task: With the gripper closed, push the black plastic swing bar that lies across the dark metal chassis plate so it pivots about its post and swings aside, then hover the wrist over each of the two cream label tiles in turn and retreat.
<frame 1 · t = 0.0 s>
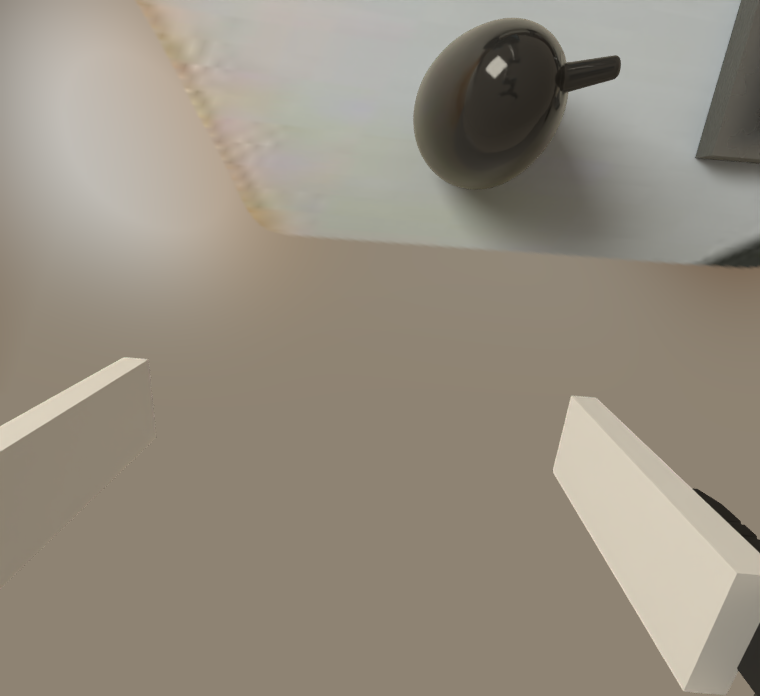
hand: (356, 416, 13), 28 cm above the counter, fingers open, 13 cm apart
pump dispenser: (472, 126, 36), on the counter
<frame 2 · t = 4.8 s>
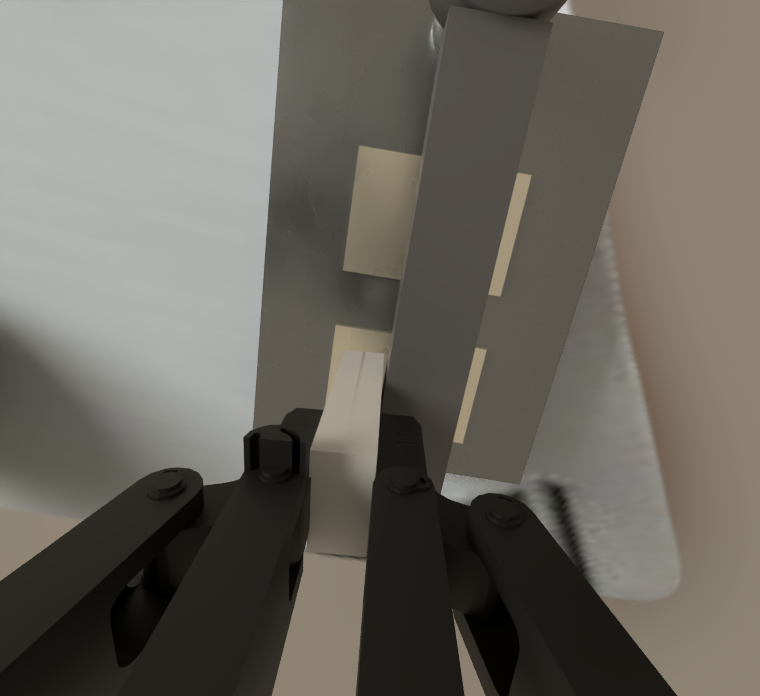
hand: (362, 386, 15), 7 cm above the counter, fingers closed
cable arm: (443, 247, 14), point 7 cm above the counter, hinge at 0.5°, touching gripper
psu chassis: (421, 264, 20), on the counter
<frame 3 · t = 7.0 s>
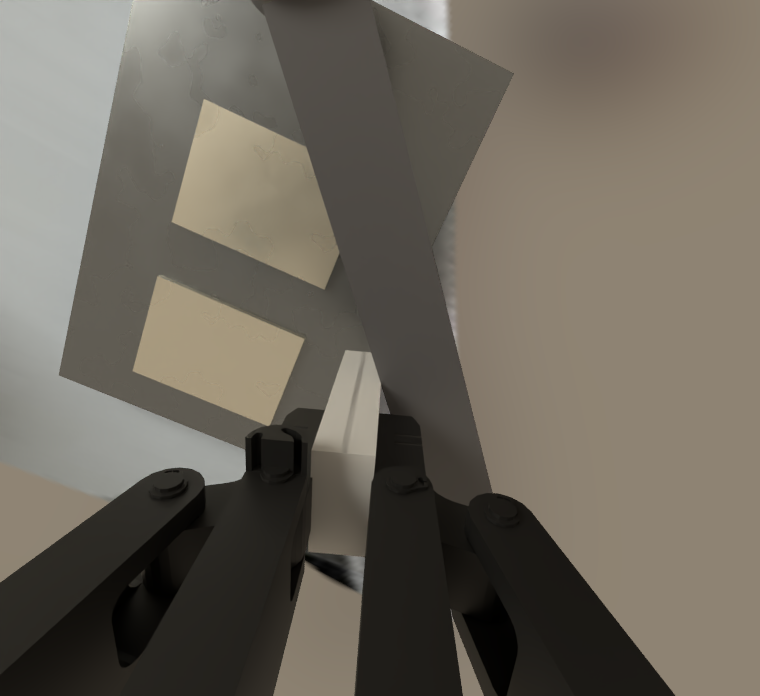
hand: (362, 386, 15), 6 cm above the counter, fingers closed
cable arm: (383, 225, 13), point 7 cm above the counter, hinge at 40.2°, touching gripper
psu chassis: (268, 241, 20), on the counter
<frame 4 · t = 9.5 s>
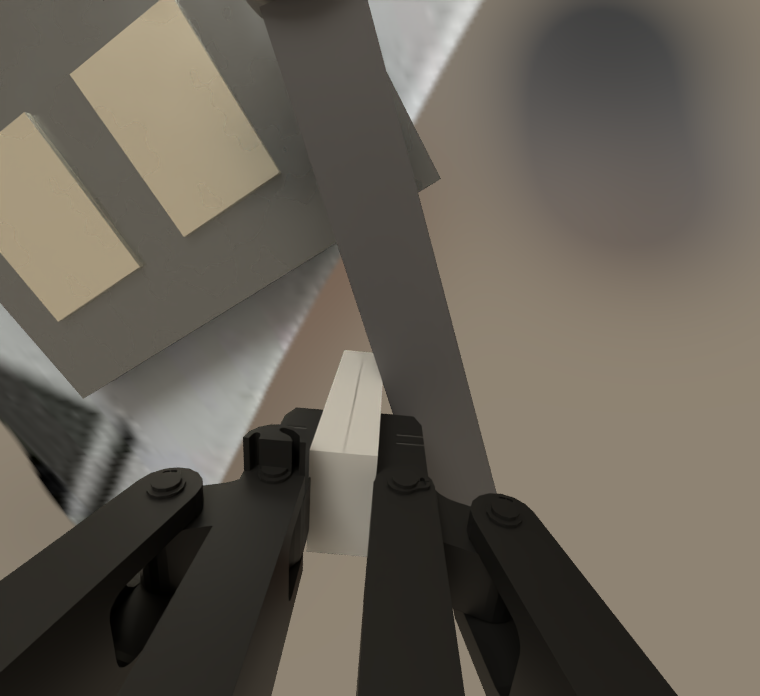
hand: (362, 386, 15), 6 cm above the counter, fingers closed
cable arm: (382, 225, 13), point 7 cm above the counter, hinge at 76.6°, touching gripper
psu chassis: (168, 159, 19), on the counter
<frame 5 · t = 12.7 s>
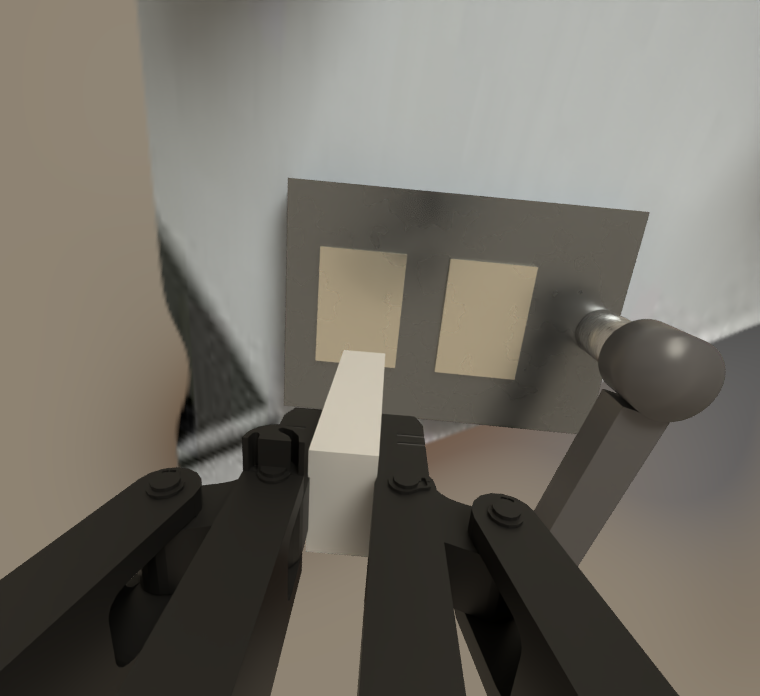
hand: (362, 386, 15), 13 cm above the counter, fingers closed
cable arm: (572, 479, 23), point 7 cm above the counter, hinge at 76.6°
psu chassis: (446, 309, 27), on the counter
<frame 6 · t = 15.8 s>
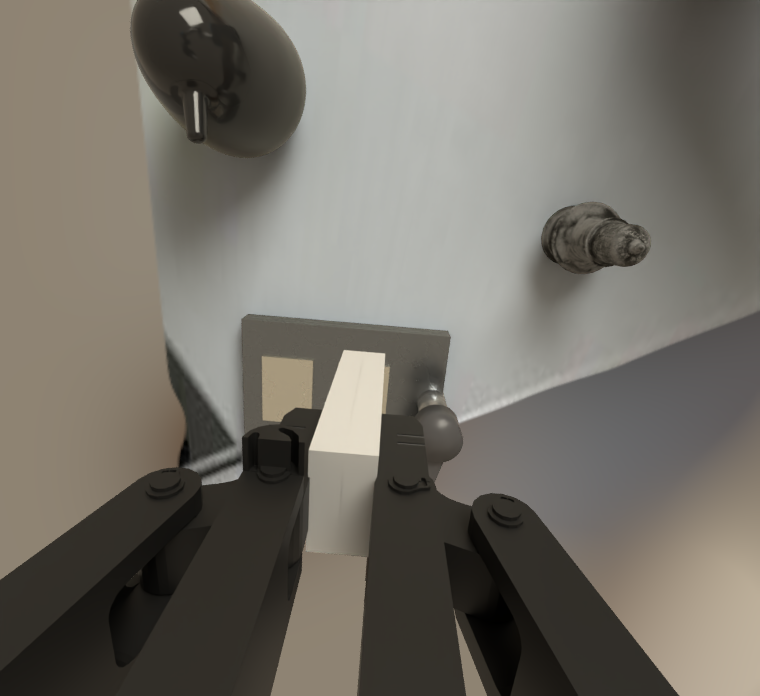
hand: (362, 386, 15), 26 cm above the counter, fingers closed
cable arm: (408, 491, 40), point 7 cm above the counter, hinge at 76.6°
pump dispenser: (256, 99, 36), on the counter
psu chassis: (344, 386, 44), on the counter
grey chess piece: (569, 235, 39), on the counter
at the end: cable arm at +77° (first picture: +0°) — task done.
